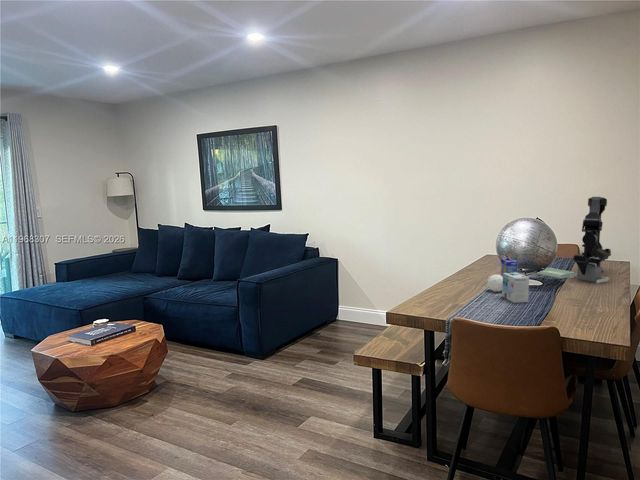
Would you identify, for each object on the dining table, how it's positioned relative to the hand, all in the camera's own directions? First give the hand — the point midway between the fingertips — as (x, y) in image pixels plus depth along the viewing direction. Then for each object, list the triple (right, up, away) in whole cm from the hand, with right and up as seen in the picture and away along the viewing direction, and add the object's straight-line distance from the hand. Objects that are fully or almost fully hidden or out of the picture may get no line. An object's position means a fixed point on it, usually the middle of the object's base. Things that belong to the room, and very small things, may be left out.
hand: (589, 273), depth 231 cm
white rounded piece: (-52, -7, -19) cm, 56 cm away
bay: (0, -3, 0) cm, 3 cm away
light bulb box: (-50, -9, -32) cm, 60 cm away
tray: (-11, -2, +13) cm, 17 cm away
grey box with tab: (0, -3, 0) cm, 3 cm away
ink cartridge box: (-42, -5, -5) cm, 43 cm away
